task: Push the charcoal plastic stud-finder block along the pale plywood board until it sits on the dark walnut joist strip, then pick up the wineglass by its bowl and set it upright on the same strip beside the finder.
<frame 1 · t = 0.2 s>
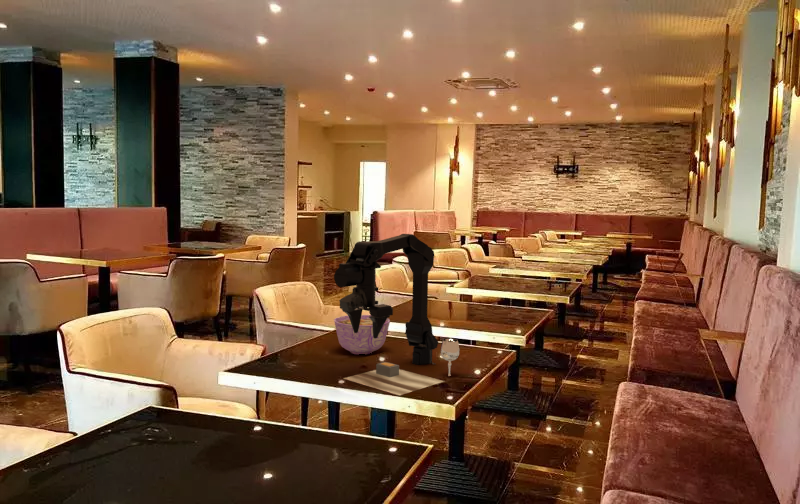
hand: (365, 335, 196), 14 cm above the table, fingers open, 9 cm apart
subfloor board: (393, 383, 196), on the table
wineglass: (449, 379, 202), on the table
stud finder: (387, 374, 202), point 1 cm above the table, touching subfloor board
bowl of food: (361, 352, 234), on the table
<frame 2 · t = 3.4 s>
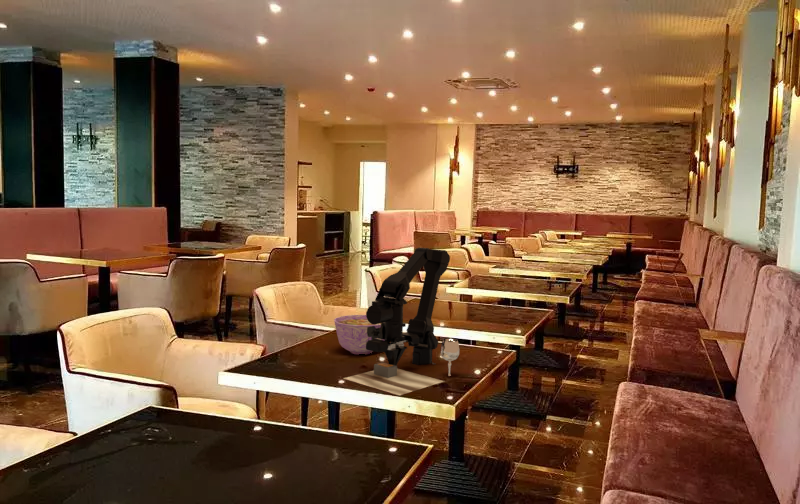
hand: (392, 369, 204), 2 cm above the table, fingers closed
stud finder: (385, 374, 201), point 1 cm above the table, touching gripper, subfloor board
everything else where it was.
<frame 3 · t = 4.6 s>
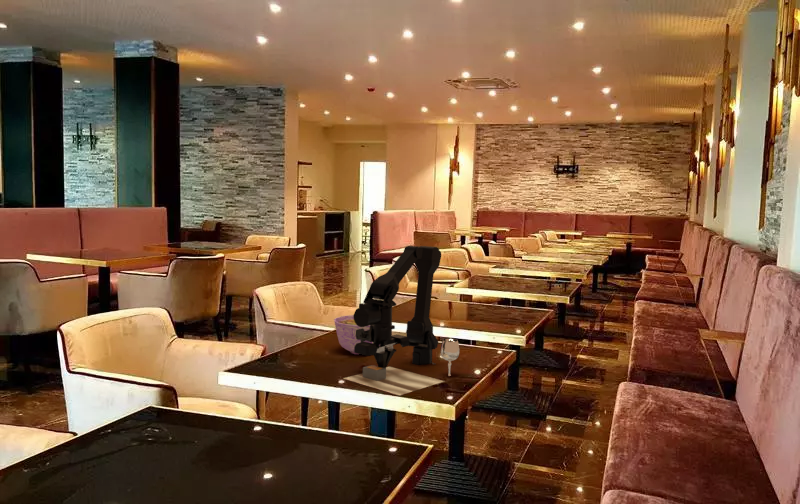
hand: (381, 372, 200), 2 cm above the table, fingers closed
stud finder: (374, 377, 198), point 1 cm above the table, touching gripper, subfloor board
everything else where it was.
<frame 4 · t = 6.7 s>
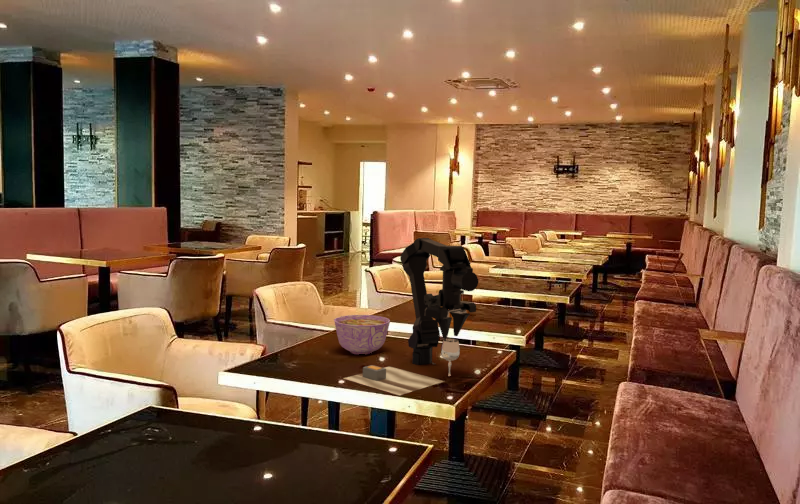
hand: (450, 337, 201), 13 cm above the table, fingers open, 5 cm apart
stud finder: (374, 377, 198), point 1 cm above the table, touching subfloor board
everything else where it was.
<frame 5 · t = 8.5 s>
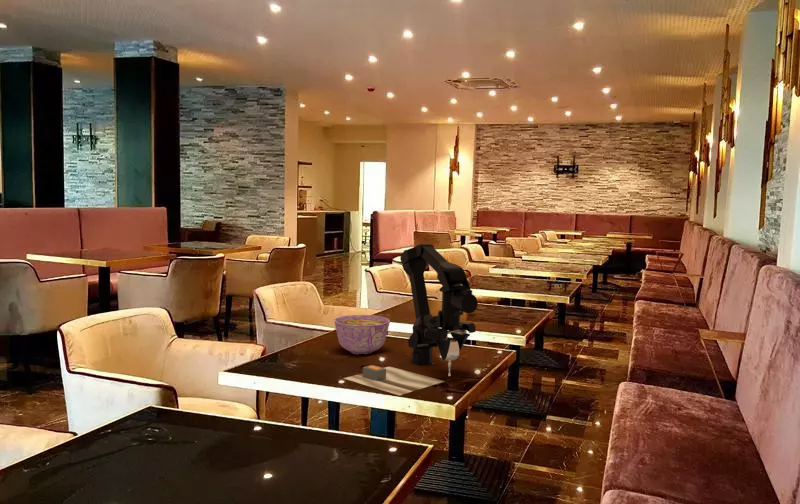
hand: (449, 357, 202), 7 cm above the table, fingers closed on wineglass, 6 cm apart
wineglass: (449, 379, 202), on the table, touching gripper
everything else where it was.
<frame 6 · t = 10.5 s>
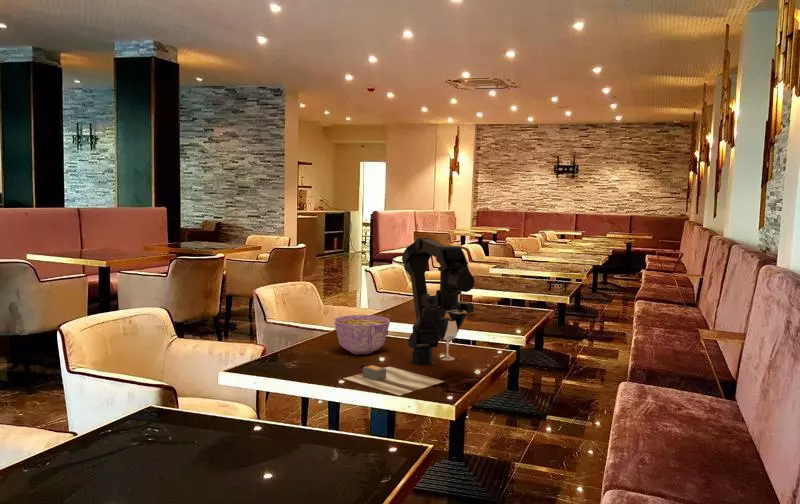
hand: (447, 337, 200), 13 cm above the table, fingers closed on wineglass, 6 cm apart
wineglass: (447, 359, 201), point 6 cm above the table, touching gripper
everything else where it was.
when the fingers open (9 cm above the table, at t = 13.0 s): wineglass drops 1 cm, resting on subfloor board.
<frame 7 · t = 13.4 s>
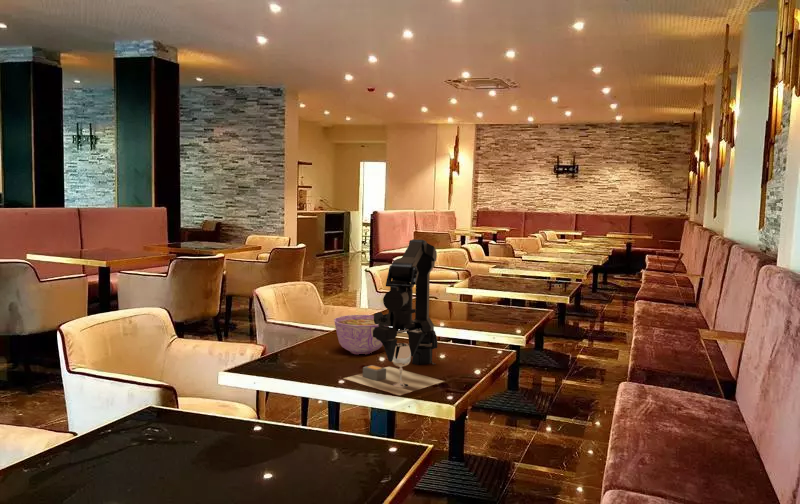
hand: (401, 358, 190), 9 cm above the table, fingers open, 9 cm apart
wineglass: (400, 386, 190), point 1 cm above the table, touching subfloor board
everything else where it was.
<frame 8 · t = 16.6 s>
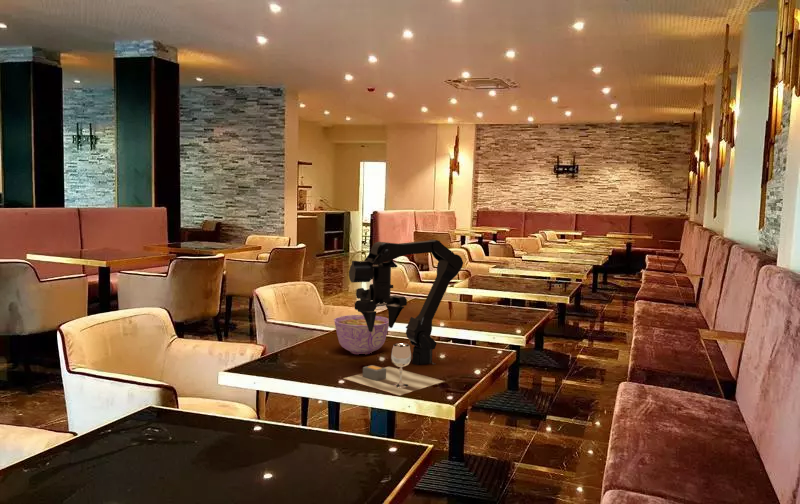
hand: (380, 329, 210), 13 cm above the table, fingers open, 9 cm apart
nothing on the table moved.
at the end: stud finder 0.3 cm from the target spot, point 1.0 cm above the table; wineglass 0.0 cm from the target spot, point 0.8 cm above the table; wineglass tilted 0° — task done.
